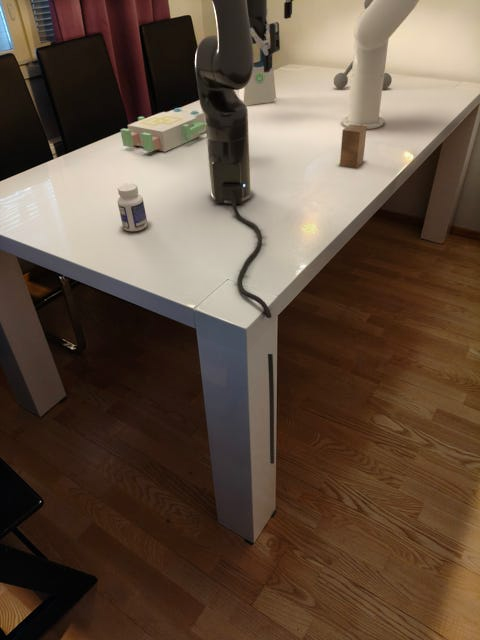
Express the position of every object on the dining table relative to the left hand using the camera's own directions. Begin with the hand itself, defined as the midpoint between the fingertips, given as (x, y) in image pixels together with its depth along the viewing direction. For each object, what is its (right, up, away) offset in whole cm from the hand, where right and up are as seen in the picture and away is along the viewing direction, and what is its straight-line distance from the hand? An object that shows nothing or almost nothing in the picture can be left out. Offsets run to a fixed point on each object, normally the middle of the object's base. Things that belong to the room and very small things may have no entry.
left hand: (252, 70), depth 121 cm
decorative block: (-26, -6, +30) cm, 40 cm away
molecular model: (+44, +31, +73) cm, 91 cm away
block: (+26, -21, +7) cm, 34 cm away
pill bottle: (-26, -42, -16) cm, 52 cm away
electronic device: (+4, +20, +61) cm, 64 cm away
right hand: (+7, +27, +22) cm, 36 cm away
